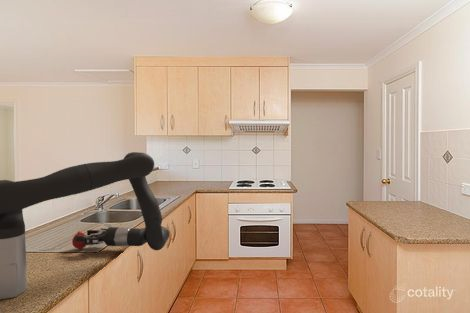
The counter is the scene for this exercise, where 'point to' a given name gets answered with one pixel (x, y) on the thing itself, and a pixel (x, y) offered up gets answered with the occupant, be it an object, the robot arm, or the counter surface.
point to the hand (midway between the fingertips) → (81, 235)
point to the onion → (78, 244)
